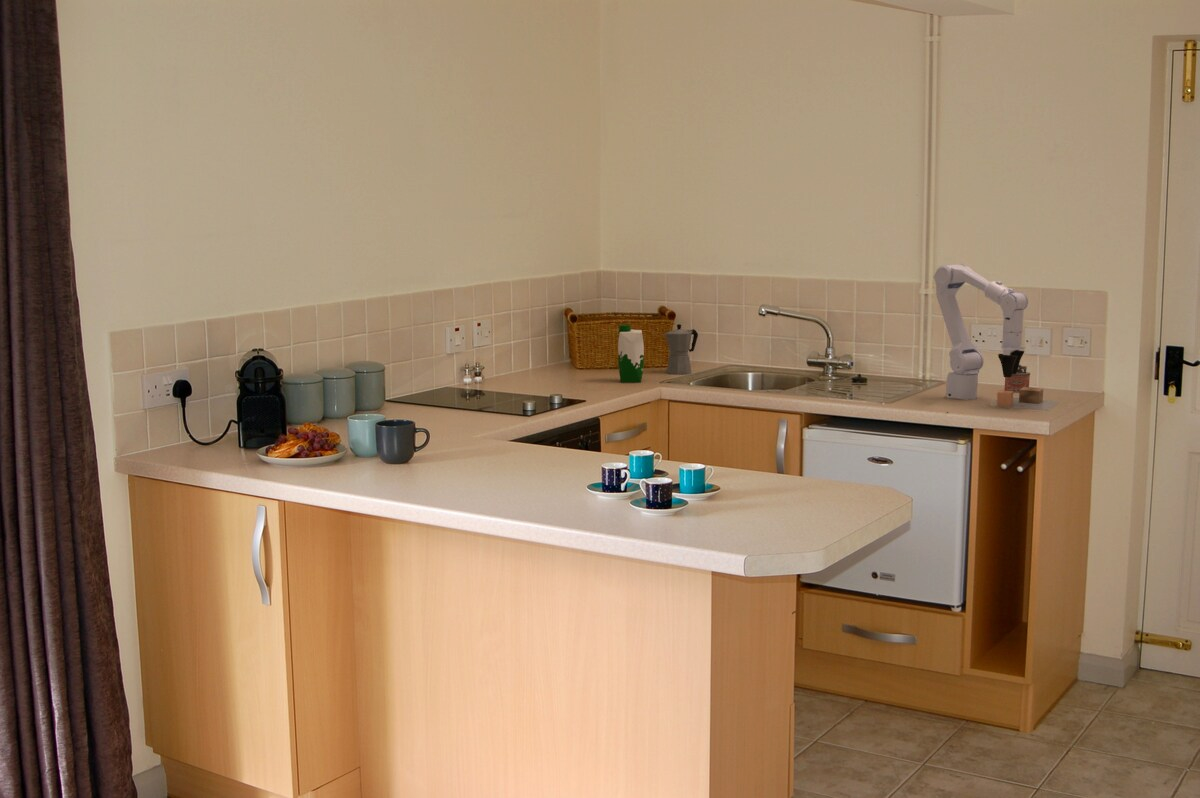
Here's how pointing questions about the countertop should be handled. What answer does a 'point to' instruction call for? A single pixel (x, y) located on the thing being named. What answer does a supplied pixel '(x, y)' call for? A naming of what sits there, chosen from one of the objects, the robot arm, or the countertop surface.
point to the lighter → (1017, 380)
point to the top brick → (1005, 398)
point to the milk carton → (630, 354)
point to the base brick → (1031, 395)
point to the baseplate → (1030, 404)
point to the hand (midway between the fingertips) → (1010, 375)
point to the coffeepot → (680, 350)
